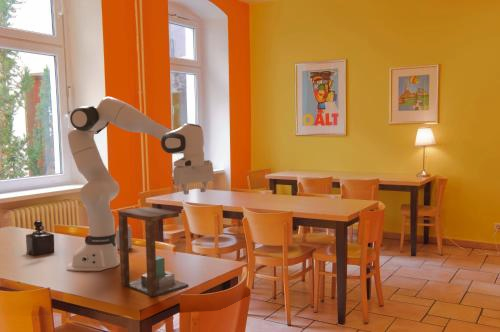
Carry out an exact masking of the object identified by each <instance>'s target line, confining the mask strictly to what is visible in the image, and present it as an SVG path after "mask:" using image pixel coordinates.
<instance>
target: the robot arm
mask: <svg viewBox="0 0 500 332" xmlns="http://www.w3.org/2000/svg"><path fill="white" fill-rule="evenodd" d="M70 113H71V114H70V116H69V117H70V118H69V120H70V124H71V125H72V127H73V128H72V129H70V131H69V132H68V134H67V139H68V145H69V148H70V152H71V155H72V157H73V160H74V163H75V165H76V168H77V171H78V172H79V174H81V175H82V176H83V177H84V178H85V180H86V181H87V183H86V184H84V185H83V186H82V187H81V188H80V191H79V198H80V201H81V203H83V204H84V208H85V210H86V213H87V217H88V218H87V219H88V231H89V232H88V233H87V234H86V235H85V237H84V244H83V245H82V246H81V247H79V248H78V249H77V250H76V251H75V252H74V253H73V255H72V259H71V260H72V261H71V262H69V263H68V264H67V266H66V270H67V271H69V272H70V271H71V272H72V271H73V272H74V271H80V272H82V271H83V272H84V271H86V272H88V271H89V272H98V271H99V272H100V271H104V270H106V269H111V268H115V267H117V266H119V265H120V258H119V256H118V251H117V234H116V232H115V231H116V228H115V225H116V224H115V216H114V214H113V212H112V210H111V206H110V202H111V201H113V200H114V199H115V198H116V197H118V195H119V193H120V185H119V183H118V181H116V180H115V179H114V177H113V176H112V174H111V173H110V172H109V170H108V169H107V167H106V165H105V163H104V162H103V161H104V160H103V159H102V156H101V153H100V151H99V149H98V146H97V144H96V141H95V135H97V134H100V132H101V131H103V130H105V128H107V127H108V126H109V124H112V125H113V126H115V127H117V128H119V129H122V130H124V131H126V132H131V133H140V134H141V133H142V134H147V135H151V136H153V137H155V138H157V139H158V140H160V146H161V149H162V151H164V152H165V153H167V154H170V155H174V154H175V155H177V154H183V155H182V156H183V157H181V158H179V159H176V160H175V161H174V162H173V166H174V168H173V172H172V174H173V176H172V177H173V179H172V181H173V183H174V184H175V185H179V186H180V187H181V189H182V191H183V195H189V194H190V193H189V192H190V191H189V189H188V188H187V186H188V184H196V183H201V184H202V186H201V187H200V192H201V193H205V192H206V191H207V190H206V188H207V187H208V182H212V181H214V179H215V173H214V172H215V171H214V167H213V162H212V161H211V160H205V152H204V146H205V145H204V144H205V140H204V139H205V138H204V130H203V128H202V126H201V125H199V124H196V123H187V122H186V123H184V124H183V125H182V126H179V128H177V129H175V130H174V129H171V128H169V127H167V126H165V125H163V124H161V123H159V122H158V121H155V120H154V119H153V118H150V117H149V116H148V115H146V114H144V113H143V112H142V111H141V110H139V109H137V108H135V106H133V105H132V104H129V103H127V102H125V101H123V100H120V99H119V98H115V97H112V96H106V97H104V98H102V99H101V100H100V102H99V104H98V105H97V106H93V105H83V106H79V107H76V108H74V109H73V110H72V111H71V112H70Z"/></svg>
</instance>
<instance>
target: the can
mask: <svg viewBox="0 0 500 332" xmlns="http://www.w3.org/2000/svg"><path fill="white" fill-rule="evenodd" d="M115 231H116V232H115V233H116V243H117V244H116V249H118V250H119V251H120V243H119V225H117V228H115ZM132 236H133V235H132V228H131V225H130V224H128V249H129V250H130V249H132V247H133V239H132V238H133V237H132Z"/></svg>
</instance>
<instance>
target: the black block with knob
mask: <svg viewBox="0 0 500 332" xmlns="http://www.w3.org/2000/svg"><path fill="white" fill-rule="evenodd" d="M33 226H34V227H35V228H34V230H35V231H32V233H28V234H26V235H25V242H26V244H25V245H26V254H28V255H29V256H34V257H37V256H38V257H39V256H43V255H48V254H53V253H55V235H54V233H51V232H47V231H45V226H43V222H42V221H41V219H40V220H39V219H38V220H35V221H34V222H33Z"/></svg>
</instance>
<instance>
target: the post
mask: <svg viewBox="0 0 500 332" xmlns="http://www.w3.org/2000/svg"><path fill="white" fill-rule="evenodd" d="M165 265H166V263H165V257H162V256H159V255H158V256H156V278H157V277H161V276H164V275H165V271H166V270H165V269H166V268H165V267H166V266H165Z"/></svg>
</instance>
